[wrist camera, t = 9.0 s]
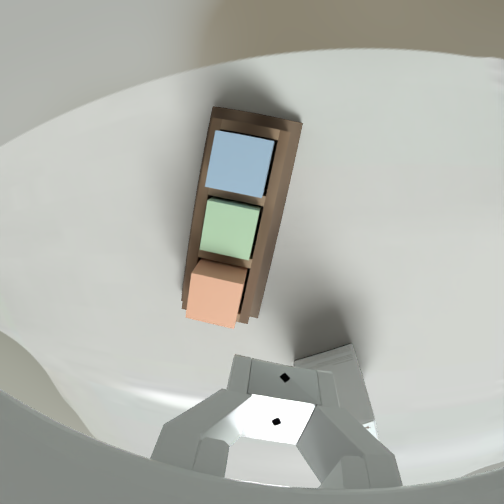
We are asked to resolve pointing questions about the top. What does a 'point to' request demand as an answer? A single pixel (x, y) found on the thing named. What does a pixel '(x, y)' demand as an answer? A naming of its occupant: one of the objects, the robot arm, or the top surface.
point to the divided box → (247, 201)
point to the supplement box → (345, 382)
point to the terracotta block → (215, 292)
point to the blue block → (239, 163)
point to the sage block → (229, 227)
